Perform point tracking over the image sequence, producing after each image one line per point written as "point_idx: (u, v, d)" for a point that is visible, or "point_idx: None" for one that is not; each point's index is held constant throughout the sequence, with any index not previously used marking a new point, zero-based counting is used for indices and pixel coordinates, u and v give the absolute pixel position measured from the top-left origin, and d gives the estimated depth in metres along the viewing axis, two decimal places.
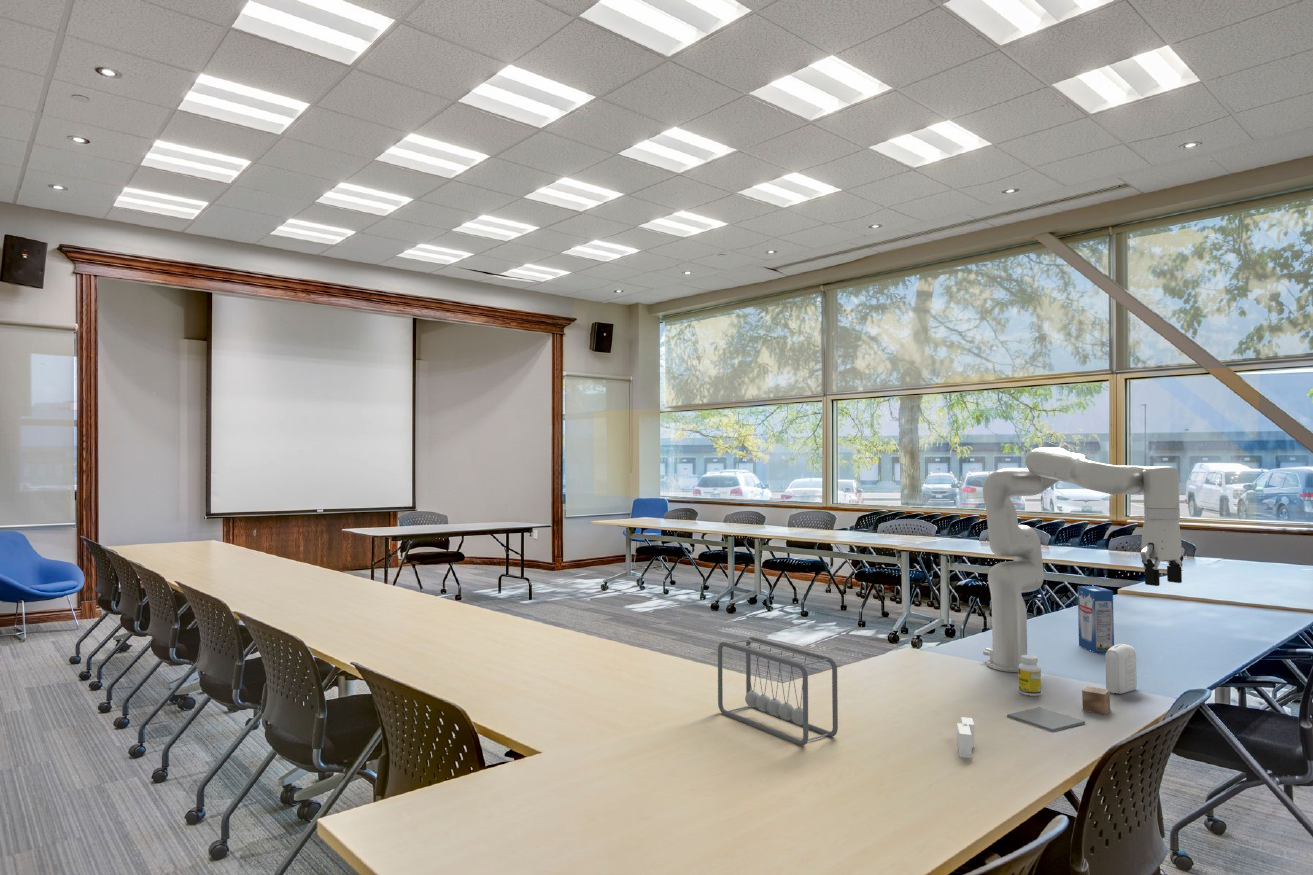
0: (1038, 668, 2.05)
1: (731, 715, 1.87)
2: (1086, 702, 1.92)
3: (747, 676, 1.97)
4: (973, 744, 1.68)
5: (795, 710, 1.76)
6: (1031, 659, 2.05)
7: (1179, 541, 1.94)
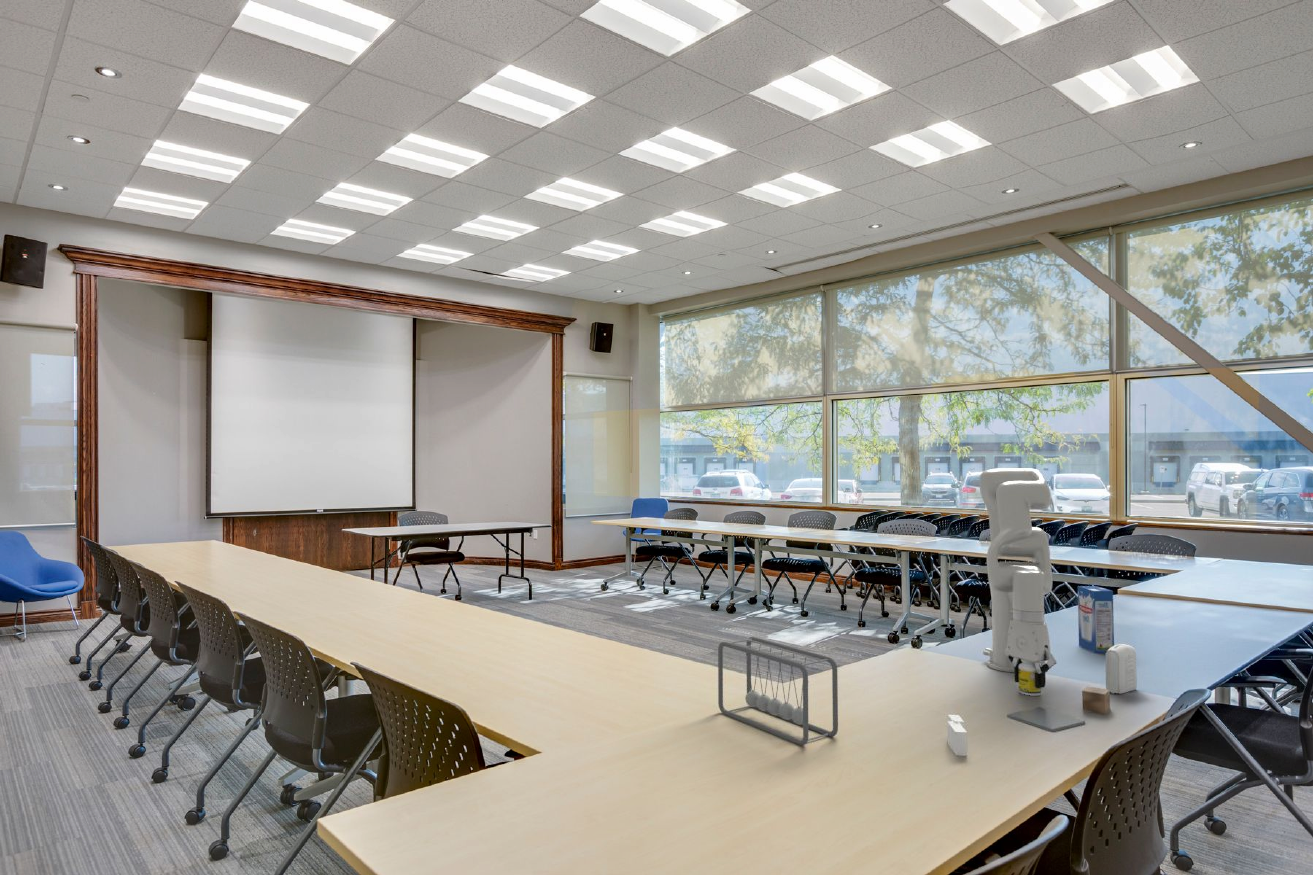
0: None
1: (731, 715, 1.88)
2: (1086, 702, 1.92)
3: (747, 676, 1.97)
4: None
5: (795, 710, 1.76)
6: None
7: None
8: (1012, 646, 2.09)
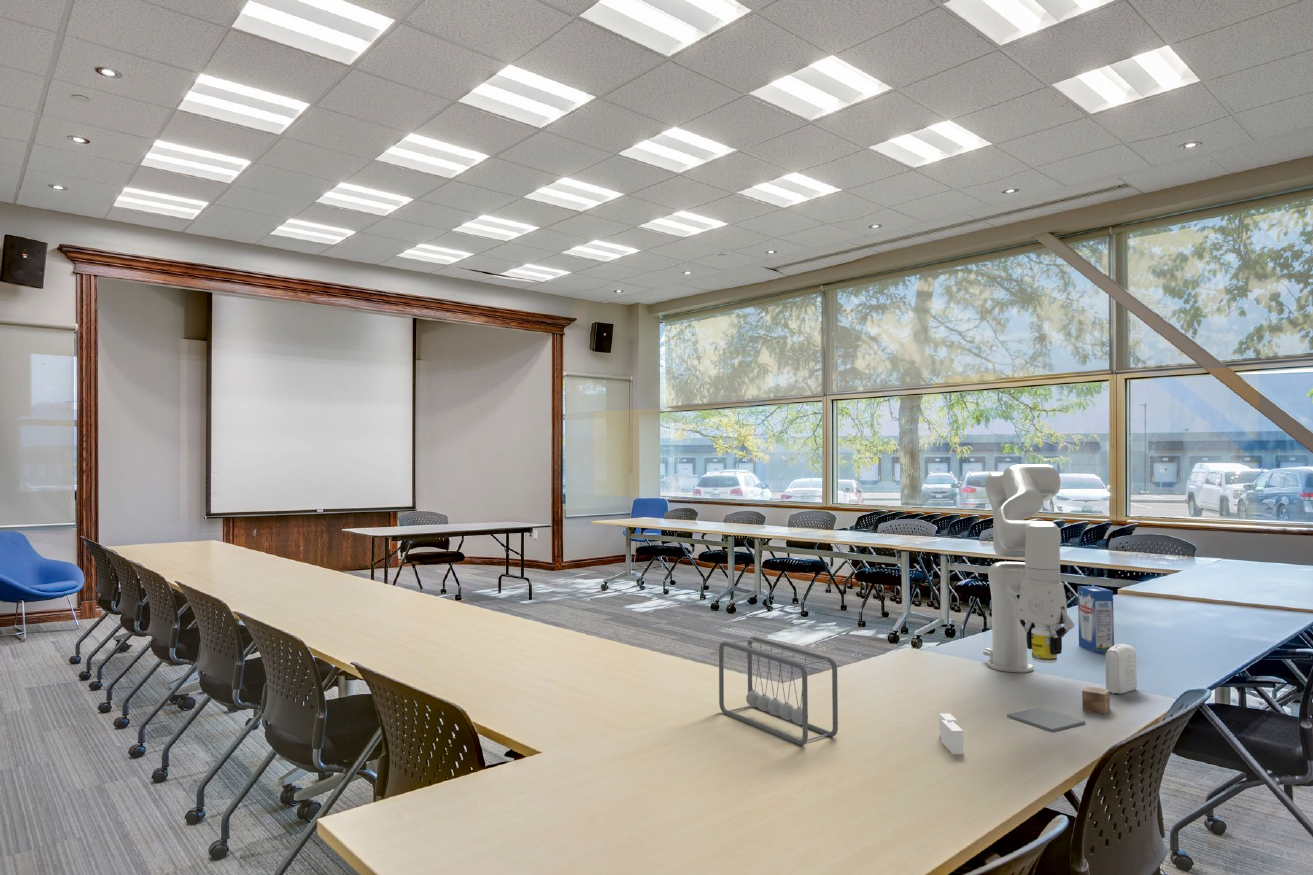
0: None
1: (732, 715, 1.88)
2: (1086, 702, 1.92)
3: (748, 676, 1.97)
4: None
5: (795, 710, 1.76)
6: None
7: None
8: (1024, 609, 1.88)
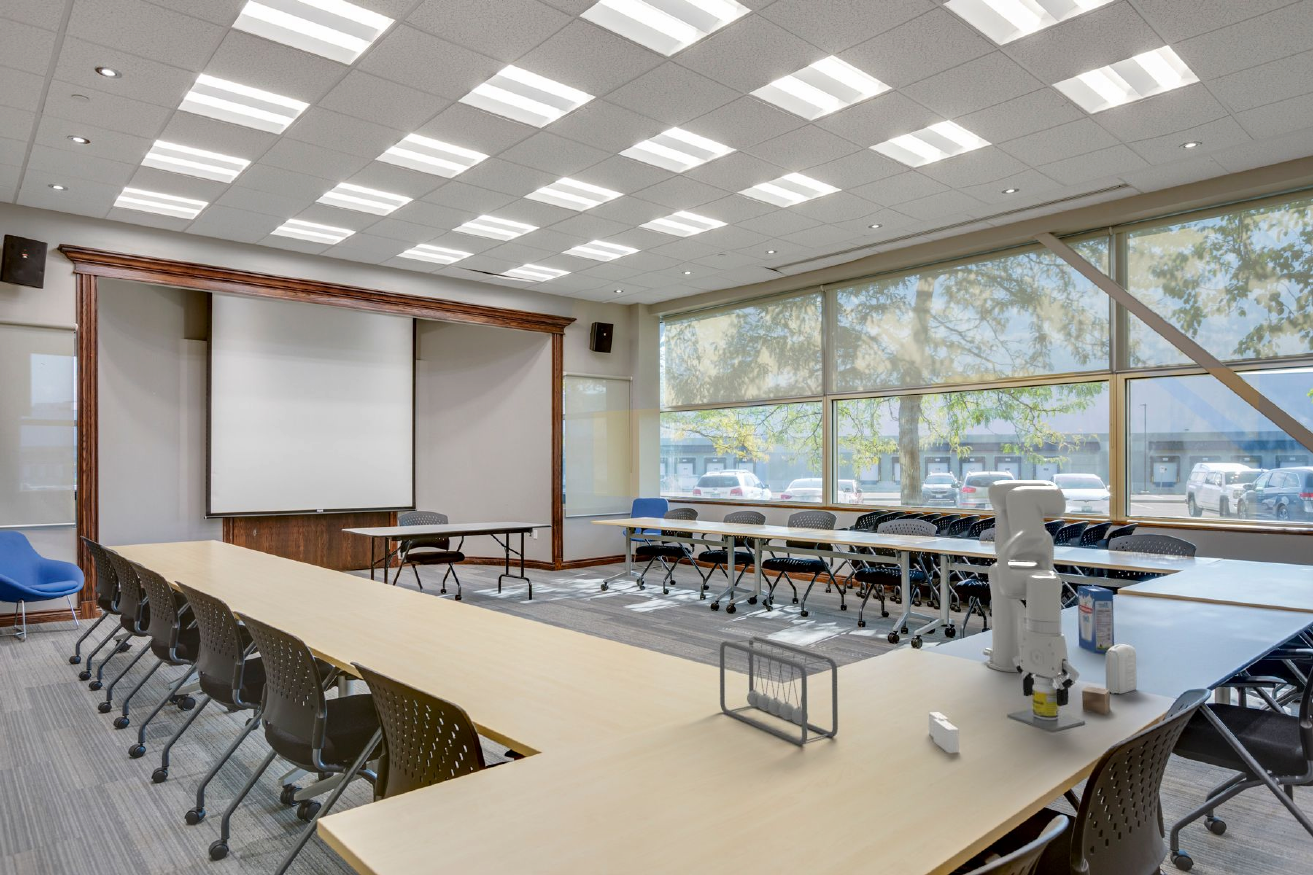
0: (1054, 689, 1.84)
1: (733, 714, 1.88)
2: (1086, 702, 1.92)
3: (750, 676, 1.97)
4: None
5: (795, 710, 1.76)
6: (1047, 679, 1.84)
7: None
8: (1025, 660, 1.87)
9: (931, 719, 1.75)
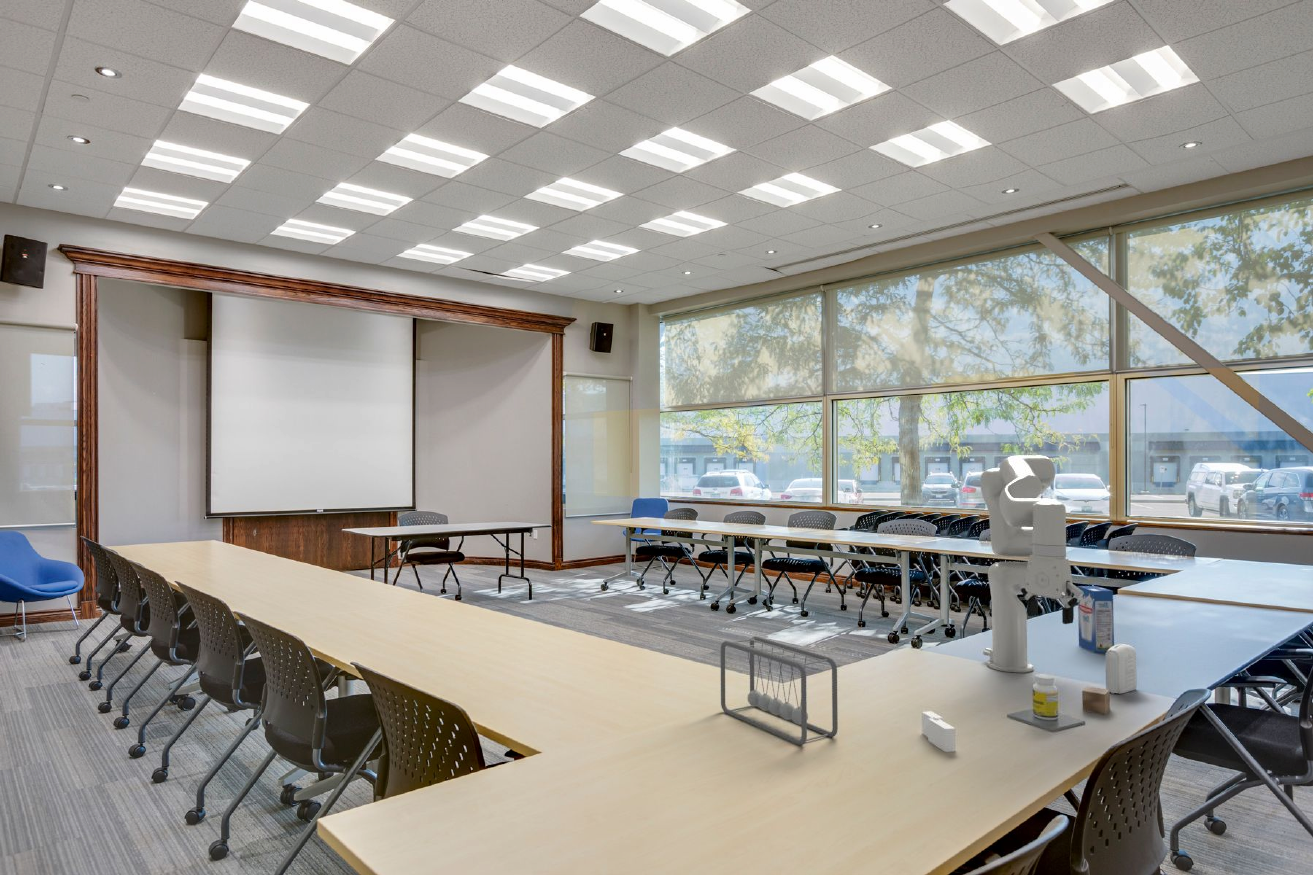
0: (1055, 689, 1.84)
1: (733, 714, 1.88)
2: (1086, 702, 1.92)
3: (751, 676, 1.97)
4: None
5: (795, 710, 1.76)
6: (1047, 679, 1.84)
7: None
8: (1031, 583, 1.96)
9: (925, 718, 1.75)
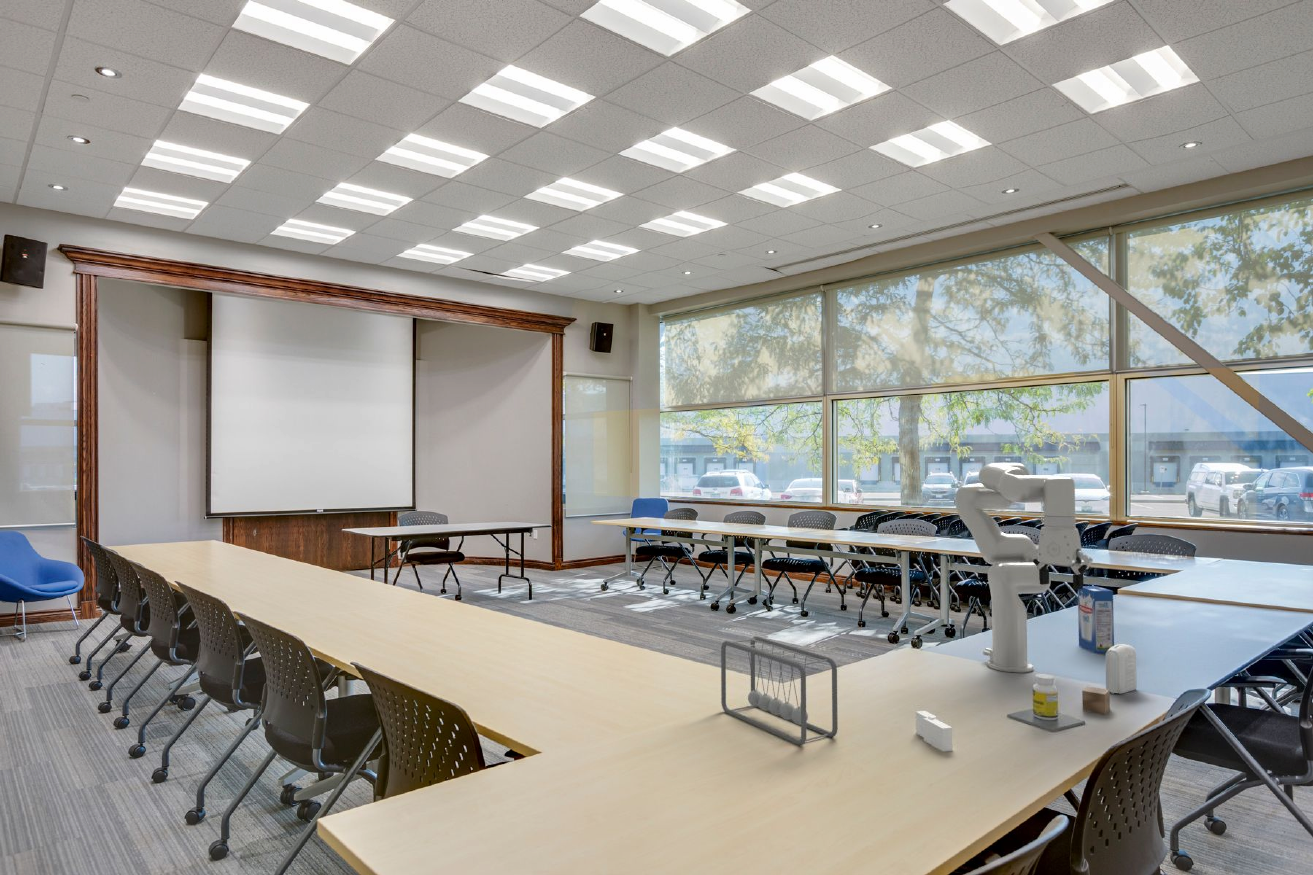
0: (1055, 689, 1.84)
1: (733, 714, 1.88)
2: (1086, 702, 1.92)
3: (751, 675, 1.97)
4: None
5: (794, 710, 1.76)
6: (1047, 679, 1.84)
7: None
8: (1043, 553, 2.10)
9: (919, 718, 1.76)
